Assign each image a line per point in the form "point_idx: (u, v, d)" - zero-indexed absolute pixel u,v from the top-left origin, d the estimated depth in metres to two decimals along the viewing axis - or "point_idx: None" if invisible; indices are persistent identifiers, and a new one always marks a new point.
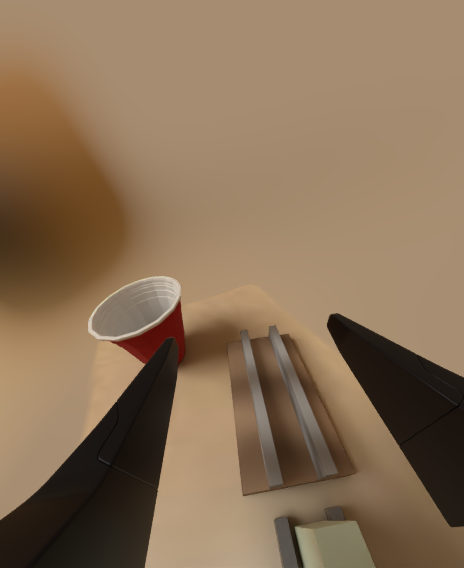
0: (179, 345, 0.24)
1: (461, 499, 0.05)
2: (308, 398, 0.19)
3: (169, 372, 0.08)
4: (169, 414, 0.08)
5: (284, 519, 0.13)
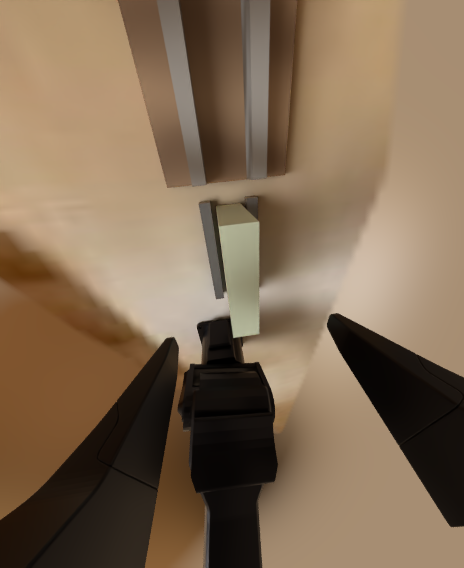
0: None
1: (460, 499, 0.05)
2: (274, 68, 0.11)
3: (169, 372, 0.08)
4: (169, 414, 0.08)
5: (207, 203, 0.15)
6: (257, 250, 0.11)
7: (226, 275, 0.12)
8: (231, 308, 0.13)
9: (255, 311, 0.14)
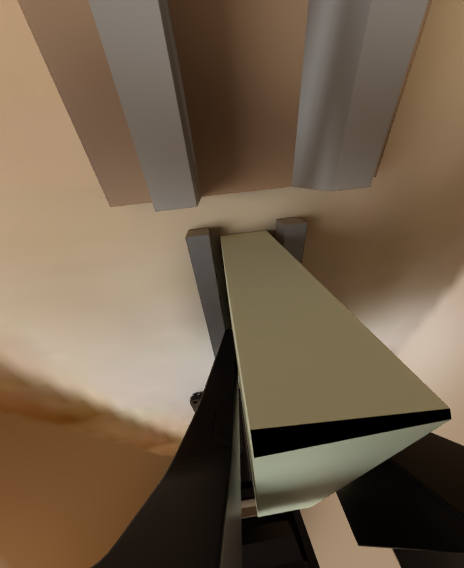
0: None
1: (361, 520, 0.05)
2: None
3: (236, 362, 0.08)
4: (238, 403, 0.08)
5: (203, 237, 0.07)
6: (384, 458, 0.03)
7: (260, 495, 0.04)
8: (261, 508, 0.05)
9: (315, 500, 0.06)
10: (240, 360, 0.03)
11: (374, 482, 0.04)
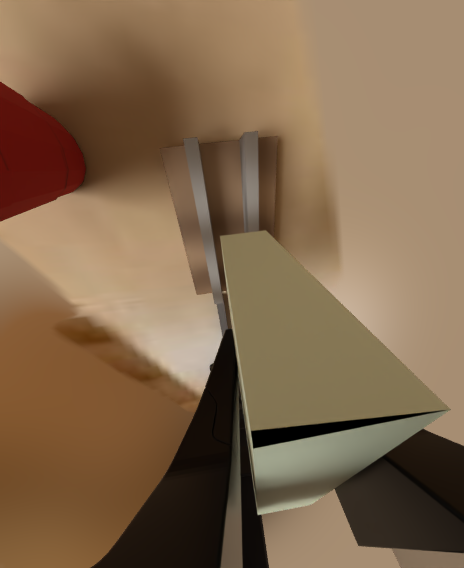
0: (62, 171, 0.12)
1: (361, 520, 0.05)
2: None
3: (236, 362, 0.08)
4: (238, 403, 0.08)
5: None
6: (381, 453, 0.03)
7: (259, 491, 0.04)
8: (261, 505, 0.05)
9: (314, 497, 0.06)
10: (240, 357, 0.03)
11: (374, 483, 0.04)
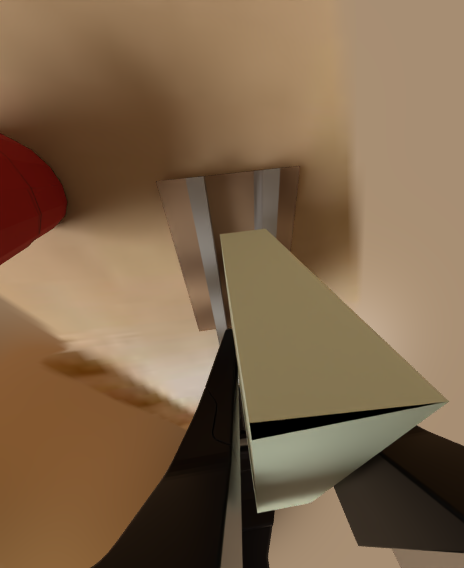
0: (32, 218, 0.09)
1: (361, 520, 0.05)
2: None
3: (236, 362, 0.08)
4: (238, 403, 0.08)
5: None
6: (380, 448, 0.03)
7: (258, 486, 0.04)
8: (261, 502, 0.05)
9: (314, 494, 0.06)
10: (239, 351, 0.03)
11: (375, 483, 0.04)
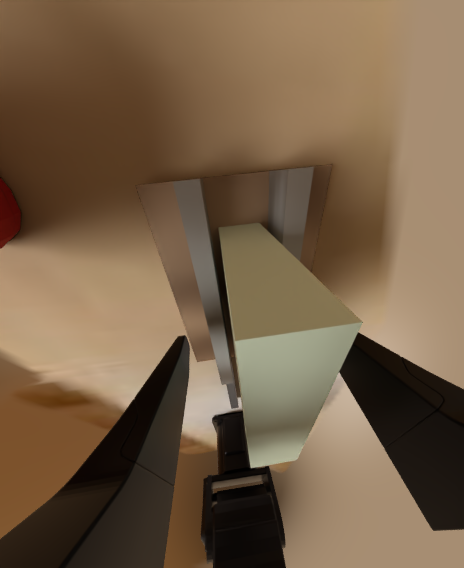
0: None
1: (442, 504, 0.05)
2: None
3: (182, 370, 0.08)
4: (183, 412, 0.08)
5: None
6: (333, 375, 0.04)
7: (247, 415, 0.05)
8: (251, 446, 0.07)
9: (297, 444, 0.07)
10: (230, 303, 0.04)
11: None
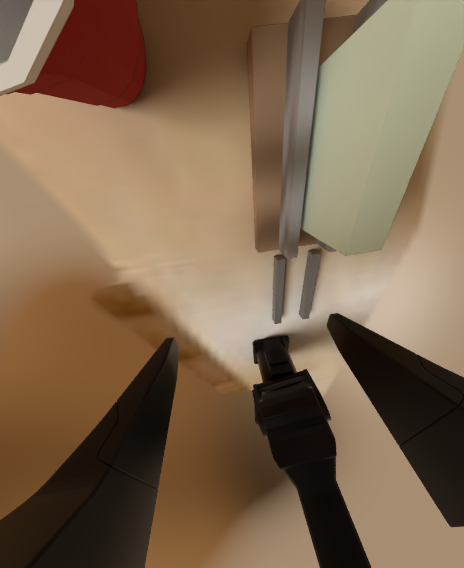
0: (137, 41, 0.09)
1: (461, 500, 0.05)
2: None
3: (169, 372, 0.08)
4: (169, 414, 0.08)
5: (283, 259, 0.20)
6: (462, 44, 0.06)
7: (388, 111, 0.07)
8: (365, 193, 0.09)
9: (395, 202, 0.09)
10: None
11: None
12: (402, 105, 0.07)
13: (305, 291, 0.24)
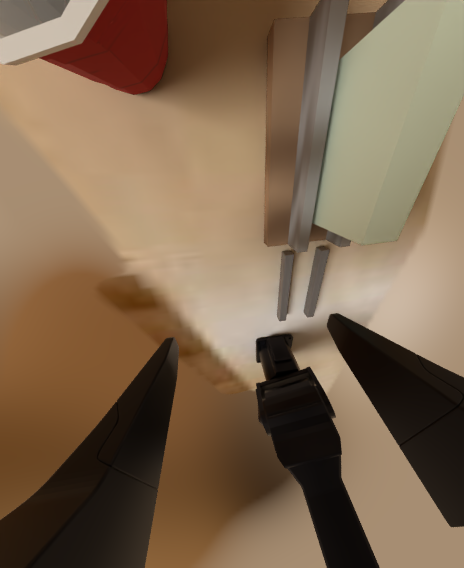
0: (165, 25, 0.09)
1: (461, 500, 0.05)
2: None
3: (169, 372, 0.08)
4: (169, 414, 0.08)
5: (291, 255, 0.20)
6: None
7: (415, 96, 0.07)
8: (386, 180, 0.09)
9: (413, 191, 0.09)
10: None
11: None
12: (428, 91, 0.07)
13: (311, 288, 0.24)
